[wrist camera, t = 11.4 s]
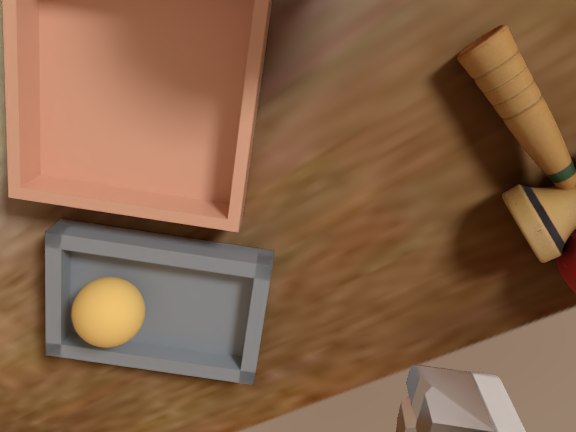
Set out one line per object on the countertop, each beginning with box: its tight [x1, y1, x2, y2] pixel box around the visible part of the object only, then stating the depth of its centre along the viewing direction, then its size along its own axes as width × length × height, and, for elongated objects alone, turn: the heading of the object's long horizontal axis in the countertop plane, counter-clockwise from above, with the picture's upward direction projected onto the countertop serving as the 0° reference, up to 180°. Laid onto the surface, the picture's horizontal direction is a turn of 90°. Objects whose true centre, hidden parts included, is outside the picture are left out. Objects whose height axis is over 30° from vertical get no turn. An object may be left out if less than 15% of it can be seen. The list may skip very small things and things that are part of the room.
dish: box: [2, 0, 272, 232], centre depth 31 cm, size 13×13×3 cm
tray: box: [45, 219, 274, 385], centre depth 36 cm, size 14×9×2 cm, turn 81°
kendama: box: [457, 25, 576, 293], centre depth 32 cm, size 8×6×18 cm
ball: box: [71, 277, 145, 348], centre depth 35 cm, size 4×4×4 cm
